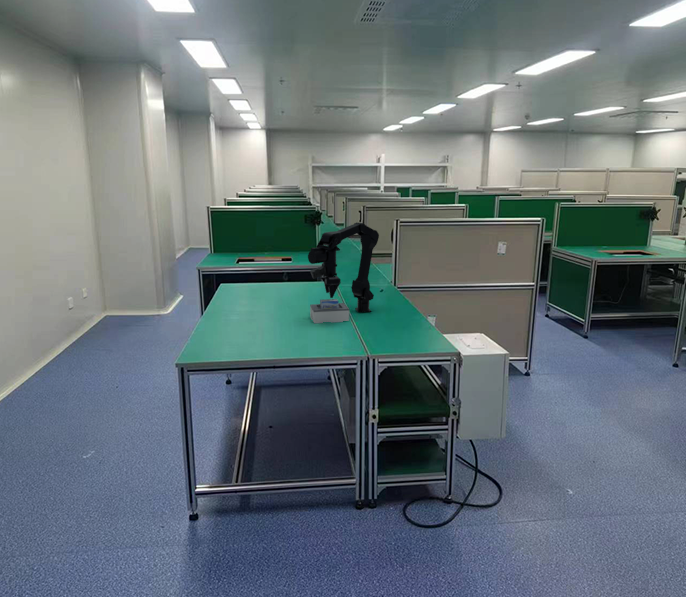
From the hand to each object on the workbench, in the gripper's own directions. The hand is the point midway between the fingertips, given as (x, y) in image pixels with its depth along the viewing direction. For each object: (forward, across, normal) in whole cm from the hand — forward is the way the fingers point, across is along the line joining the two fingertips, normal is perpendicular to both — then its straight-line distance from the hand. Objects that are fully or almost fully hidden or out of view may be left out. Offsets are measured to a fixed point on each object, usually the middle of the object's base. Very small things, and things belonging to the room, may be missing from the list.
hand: (329, 295), depth 217 cm
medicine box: (+11, +1, 0) cm, 11 cm away
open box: (+11, 0, 0) cm, 11 cm away
